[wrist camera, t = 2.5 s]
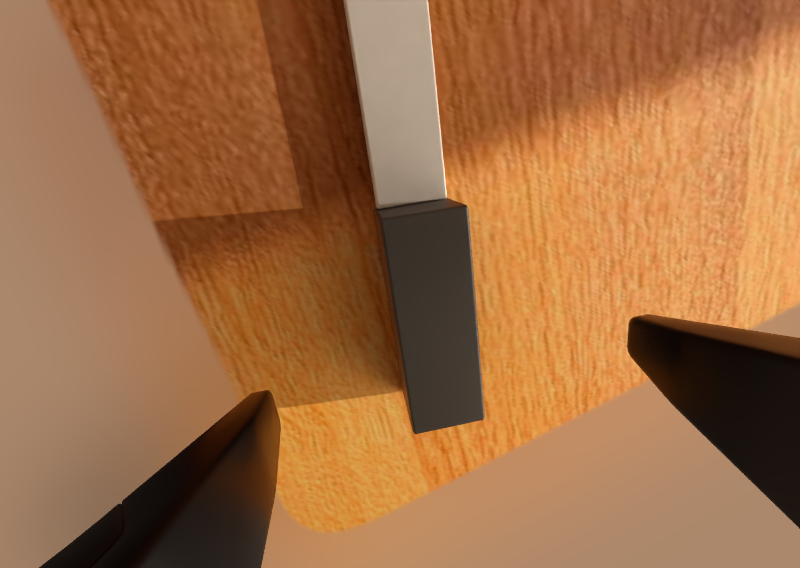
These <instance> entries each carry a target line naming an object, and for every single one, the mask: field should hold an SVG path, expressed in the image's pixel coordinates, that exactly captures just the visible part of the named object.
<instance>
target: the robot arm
mask: <svg viewBox="0 0 800 568" xmlns="http://www.w3.org/2000/svg"><path fill="white" fill-rule="evenodd" d="M627 348H628V352H629V354H630V356H631V357H632V359H633V360H634V361H635V362H636V363H637V364H638V365H639V367H640V368H641V369H642V370H643V371H644V372H645V374H646V375H647V376H648V377H649V378H650V379H651V381H652V382H653V383H654V384H655V385H656V386H657V387H658V389H659V390H660V391H661V392H662V393H663V395H664V396H665V397H666V398H667V399H668V400H669V401H670V402H671V404H673V405H674V406H675V408H676V409H678V411H680V413H681V414H682V415H683V416H685V417H686V418H687V419H688V420H689V421H690V422H691V423H692V424H693V425H694V426H695V427H696V428H697V429H698V430H699V431H700V432H701V433H702V434H703V435H704V436H705V437H706V438H707V439H708V440H709V441H710V442H711V443H712V444H713V445H714V446H715V447H716V448H717V449H719V450H720V451H721V452H722V453H723V454H724V455H725V456H726V457H727V458H728V459H729V460H730V461H731V462H732V463H733V464H734V465H735V466H736V467H737V468H738V469H739V470H740V471H741V472H742V473H744V475H745V476H746V477H747V478H748V479H749V480H751V482H752V483H753V484H755V485H756V486H757V487H758V488H759V489H760V490H761V491H762V492H763V493H764V494H765V495H766V496H767V497H768V498H769V499H770V500H771V501H772V502H773V503H774V504H775V505H776V506H777V507H778V508H779V509H780V510H781V511H782V512H783V513H785V514H786V516H787V517H788V518H789V519H791V520H792V521H793V522H794V523H795V524H796V525H797V526H798V527H799V528H800V338H796V337H789V336H783V335H777V334H771V333H764V332H758V331H751V330H745V329H739V328H732V327H726V326H719V325H713V324H706V323H700V322H694V321H687V320H681V319H674V318H668V317H662V316H655V315H642V316H637V317H633V318H632V319H631V320H630V321H629V328H628V343H627ZM280 431H281V425H280V419H279V415H278V412H277V408H276V405H275V402H274V398H273V395H272V393H271V392H270V391H269V390H264V391H259V392H254V393H251V394H250V395H249V396H248V397H246V398H245V399H244V400H243V401H242V402H240V403H239V404H238V405H237V406H236V407H234V408H233V409H232V410H231V411H230V412H228V413H227V414H226V415H225V416H224V417H222V418H221V419H220V420H219V421H218V422H216V423H215V424H214V425H213V426H212V427H210V428H209V429H208V430H207V431H206V432H204V433H203V434H202V435H201V436H200V437H198V438H197V439H196V440H195V441H194V442H192V443H191V444H190V445H189V446H188V447H186V448H185V449H184V450H183V451H182V452H181V453H179V454H178V455H177V456H176V457H174V458H173V459H172V460H171V461H170V462H168V463H167V464H166V465H165V466H164V467H162V468H161V469H160V470H159V471H158V472H156V473H155V474H154V475H153V476H152V477H150V478H149V479H148V480H147V481H146V482H144V483H143V484H142V485H141V486H140V487H138V488H137V489H136V490H135V491H134V492H132V493H131V494H130V495H129V496H128V497H127V498H125V499H124V500H123V501H122V504H118V505H117V506H115V507H114V508H113V509H112V510H111V511H109V512H108V513H107V514H106V515H105V516H104V517H102V518H101V519H100V520H99V521H98V522H96V523H95V524H94V525H93V526H91V527H90V528H89V529H88V530H86V531H85V532H84V533H83V534H81V535H80V536H79V537H78V538H76V539H75V540H74V541H73V542H72V543H70V544H69V545H68V546H67V547H65V548H64V549H63V550H62V551H60V552H59V553H57V554H56V555H55V556H54V557H52V558H51V559H50V560H48V561H47V562H46V563H45V564H43V565H42V566H41V567H39V568H261V564H262V560H263V554H264V549H265V544H266V539H267V534H268V529H269V524H270V519H271V514H272V508H273V503H274V498H275V492H276V482H277V470H278V457H279V444H280Z"/></svg>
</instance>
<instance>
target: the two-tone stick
mask: <svg viewBox="0 0 800 568" xmlns="http://www.w3.org/2000/svg"><path fill="white" fill-rule="evenodd" d="M343 3H344V9H345V15H346V21H347V28H348V34H349V40H350V46H351V53H352V59H353V65H354V71H355V78H356V84H357V90H358V96H359V103H360V109H361V115H362V121H363V128H364V134H365V140H366V146H367V153H368V159H369V165H370V172H371V178H372V184H373V190H374V197H375V203H376V207H377V208H376V209H374V216H375V222H376V228H377V235H378V241H379V247H380V253H381V259H382V265H383V272H384V278H385V284H386V290H387V296H388V302H389V308H390V315H391V321H392V327H393V333H394V339H395V345H396V352H397V358H398V364H399V370H400V376H401V382H402V388H403V394H404V398H405V402H406V406H407V410H408V414H409V418H410V421H411V425H412V429H413V432H414V434H419V433H423V432H428V431H433V430H437V429H442V428H447V427H451V426H456V425H461V424H465V423H470V422H475V421H479V420H483V419H484V418H485V414H484V401H483V388H482V376H481V363H480V351H479V338H478V326H477V313H476V300H475V288H474V275H473V263H472V250H471V237H470V225H469V212H468V207H467V205H464V204H462V203H459V202H456V201H453V200H451V199H448V198H447V192H446V182H445V171H444V161H443V151H442V140H441V130H440V120H439V110H438V99H437V89H436V79H435V68H434V58H433V48H432V37H431V27H430V17H429V7H428V0H343Z"/></svg>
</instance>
